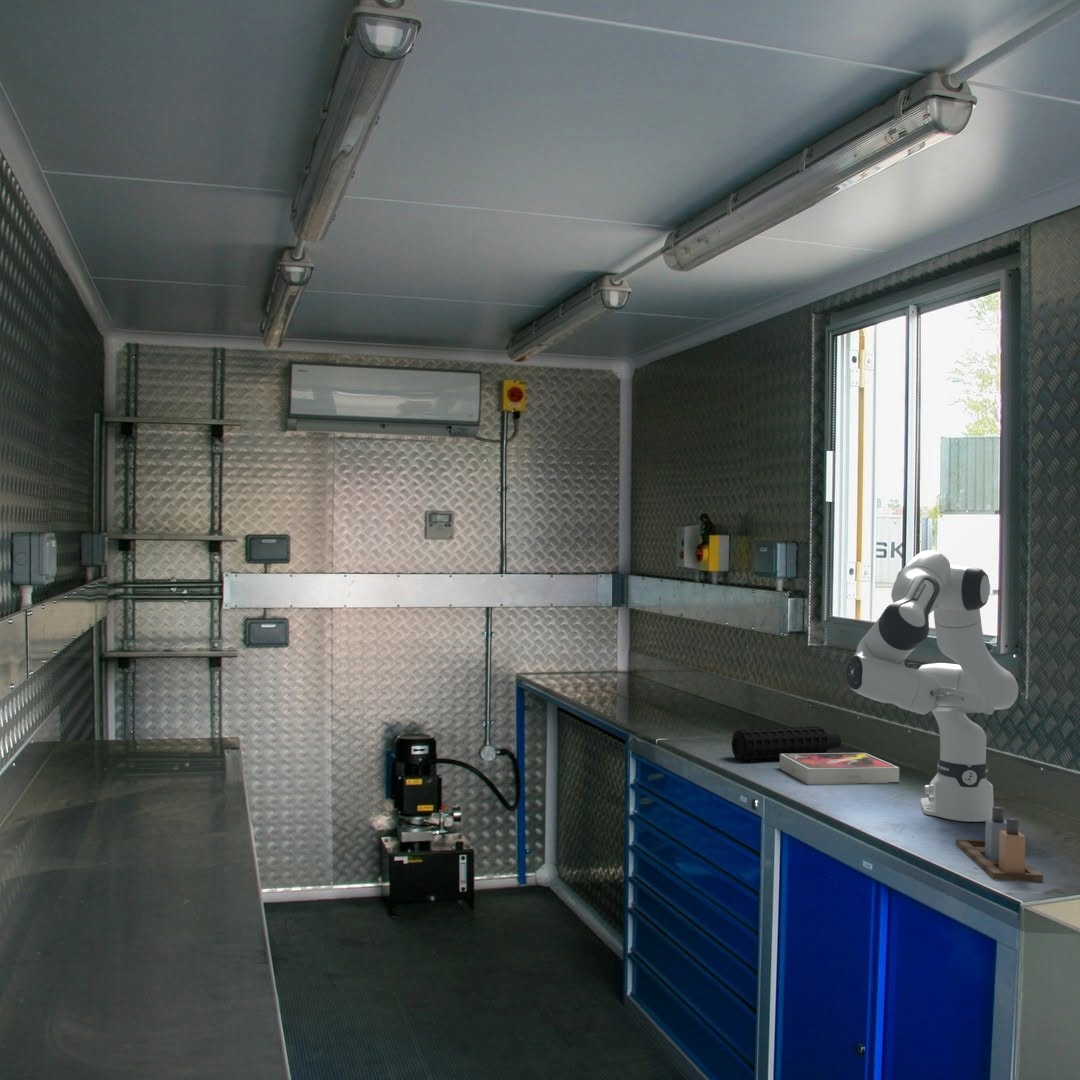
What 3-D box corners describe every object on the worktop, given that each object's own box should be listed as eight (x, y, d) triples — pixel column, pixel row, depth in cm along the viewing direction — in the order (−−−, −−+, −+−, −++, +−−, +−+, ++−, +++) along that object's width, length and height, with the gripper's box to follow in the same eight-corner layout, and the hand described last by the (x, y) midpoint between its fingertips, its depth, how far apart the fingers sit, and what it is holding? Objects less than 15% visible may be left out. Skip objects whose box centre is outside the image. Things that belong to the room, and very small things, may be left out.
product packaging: (779, 770, 336) (779, 753, 336) (865, 768, 341) (865, 752, 341) (808, 786, 315) (808, 768, 315) (899, 784, 320) (899, 767, 320)
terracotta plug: (998, 872, 234) (999, 816, 234) (1017, 873, 234) (1019, 817, 234) (1005, 878, 230) (1006, 821, 230) (1024, 879, 230) (1025, 822, 230)
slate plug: (984, 858, 243) (985, 805, 243) (1003, 859, 243) (1004, 805, 243) (990, 864, 239) (992, 809, 239) (1009, 865, 239) (1010, 810, 239)
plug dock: (955, 845, 254) (956, 839, 254) (1000, 847, 254) (1000, 840, 254) (993, 880, 228) (993, 873, 228) (1042, 882, 228) (1043, 875, 228)
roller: (827, 747, 365) (833, 720, 362) (844, 761, 356) (850, 734, 353) (727, 752, 352) (732, 724, 349) (741, 767, 344) (747, 739, 341)
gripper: (948, 677, 223) (1010, 696, 224) (901, 678, 243) (958, 695, 244) (942, 707, 222) (1003, 726, 223) (895, 706, 242) (952, 723, 243)
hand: (979, 710), depth 234 cm, fingers open, 8 cm apart
